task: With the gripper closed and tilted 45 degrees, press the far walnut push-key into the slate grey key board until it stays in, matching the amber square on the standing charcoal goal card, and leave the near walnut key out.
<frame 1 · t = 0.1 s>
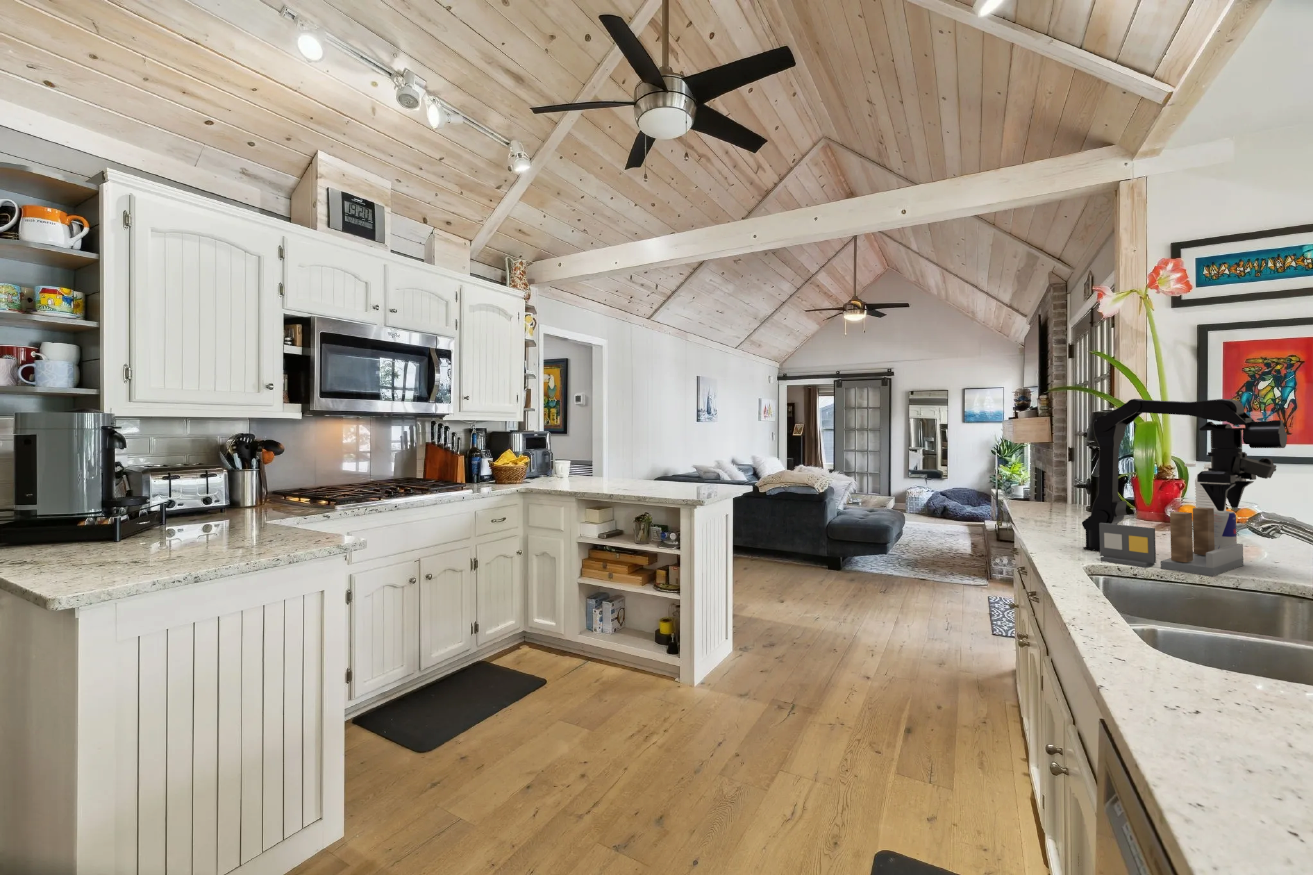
hand: (1227, 509, 147), 15 cm above the table, tool pointing down, fingers open, 9 cm apart
right key: (1181, 536, 146), point 8 cm above the table, slide at 0.0 cm
energy drink: (1223, 555, 161), on the table
left key: (1203, 531, 153), point 8 cm above the table, slide at 0.0 cm
water bottle: (1206, 548, 170), on the table
key board: (1204, 567, 147), on the table
goal card: (1127, 562, 154), on the table
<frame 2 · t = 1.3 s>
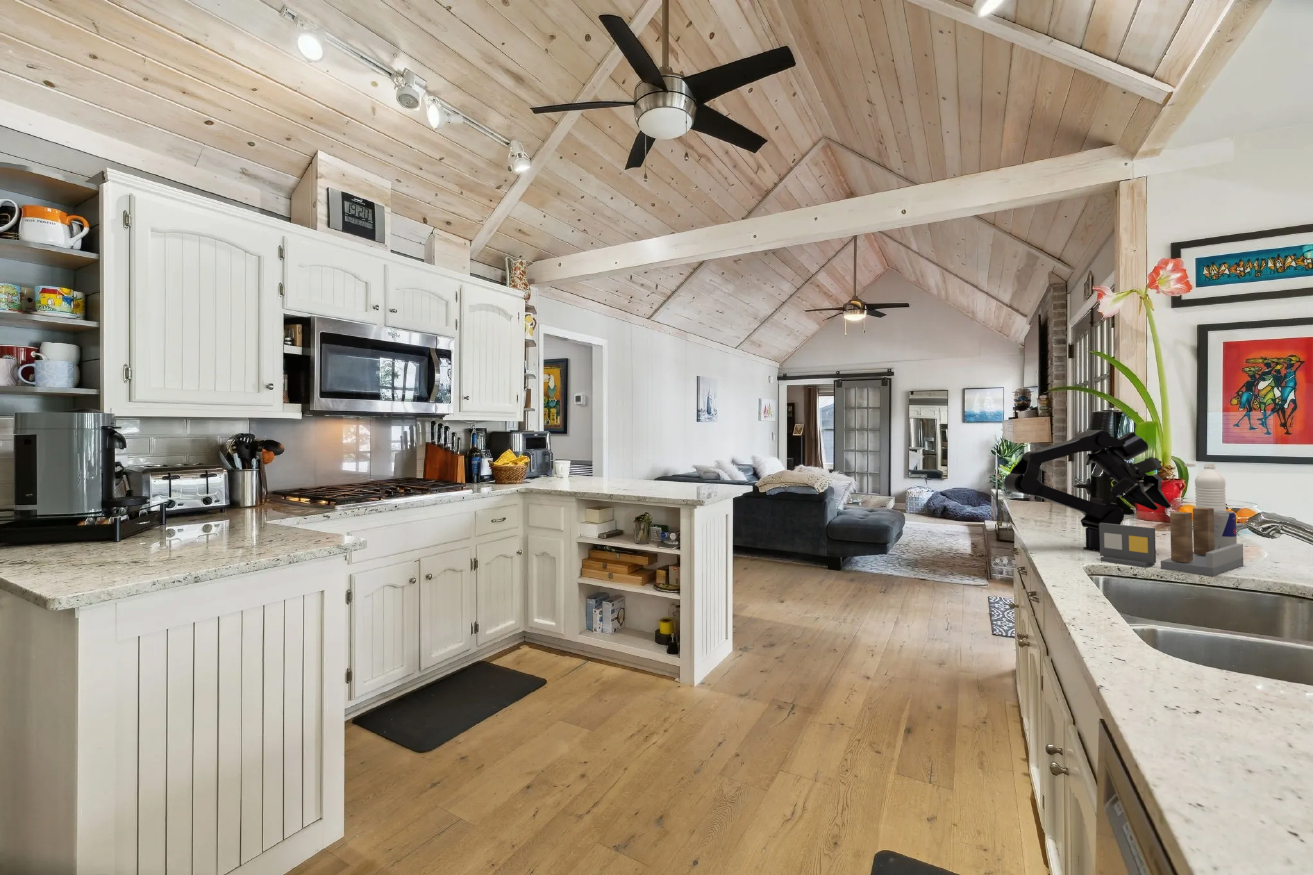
hand: (1163, 508, 160), 14 cm above the table, tool tilted 45°, fingers open, 8 cm apart
nothing on the table moved.
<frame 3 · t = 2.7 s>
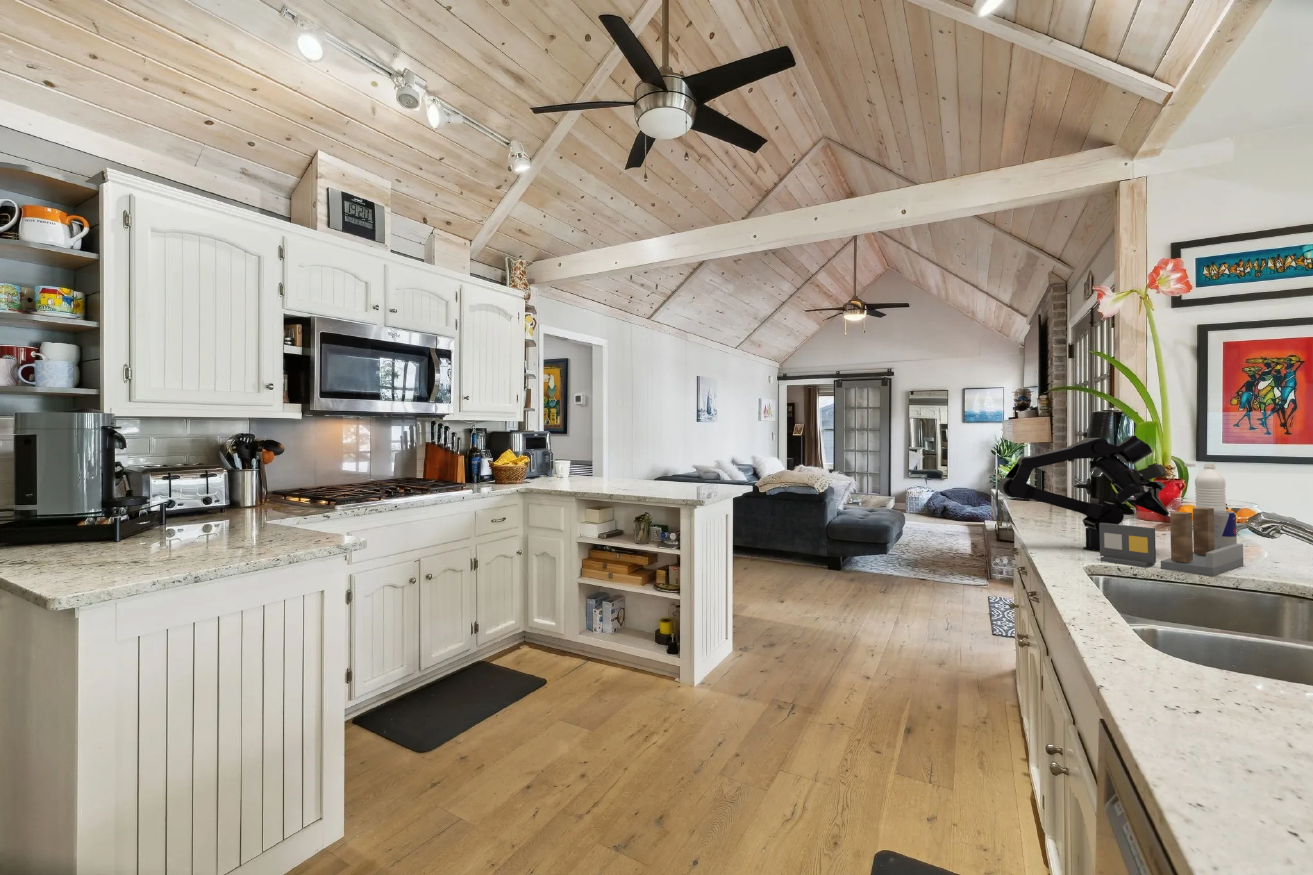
hand: (1167, 515, 160), 12 cm above the table, tool tilted 45°, fingers closed
nothing on the table moved.
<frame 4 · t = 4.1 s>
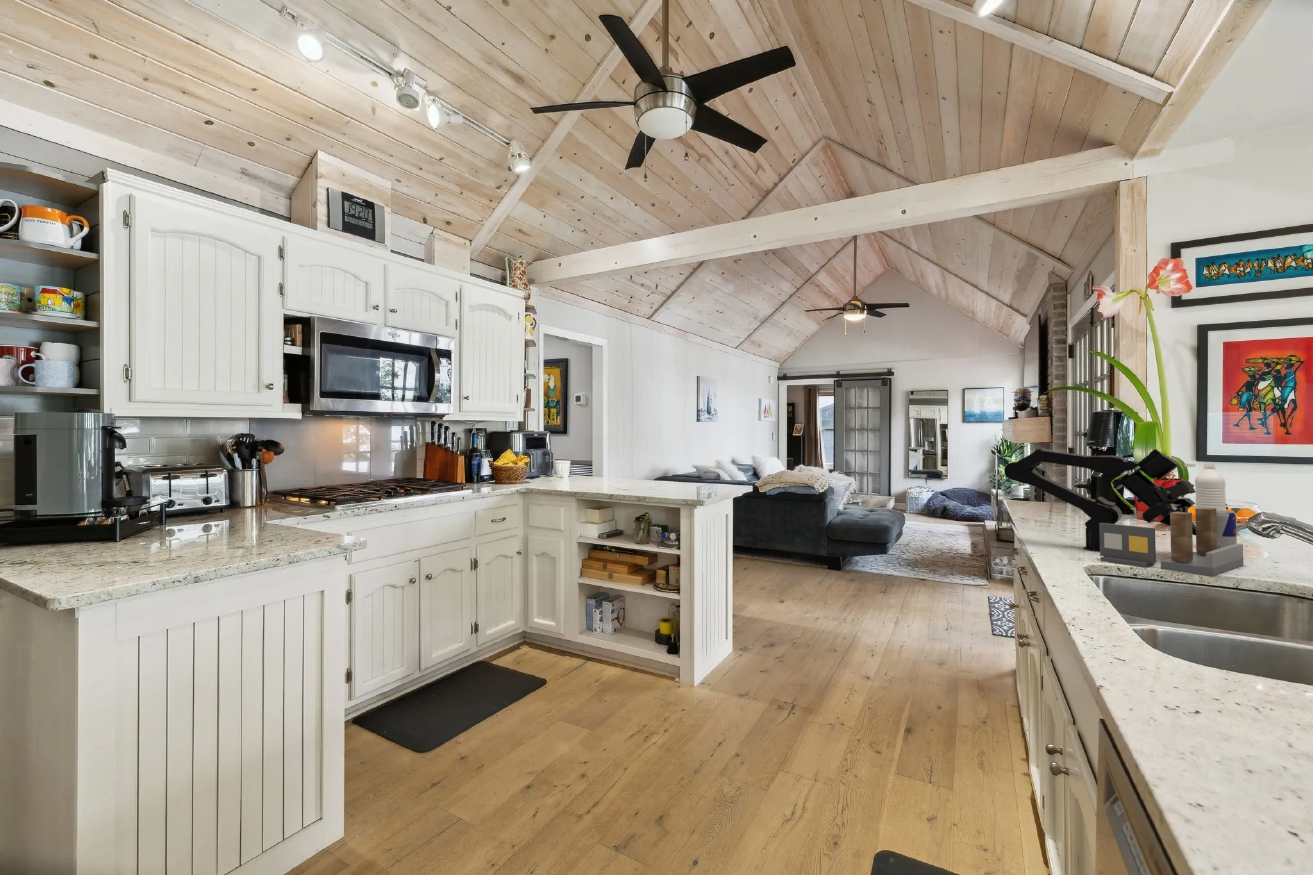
hand: (1197, 534, 154), 7 cm above the table, tool tilted 45°, fingers closed, pressing on left key
left key: (1206, 531, 152), point 8 cm above the table, slide at 0.6 cm, touching gripper
everything else where it was.
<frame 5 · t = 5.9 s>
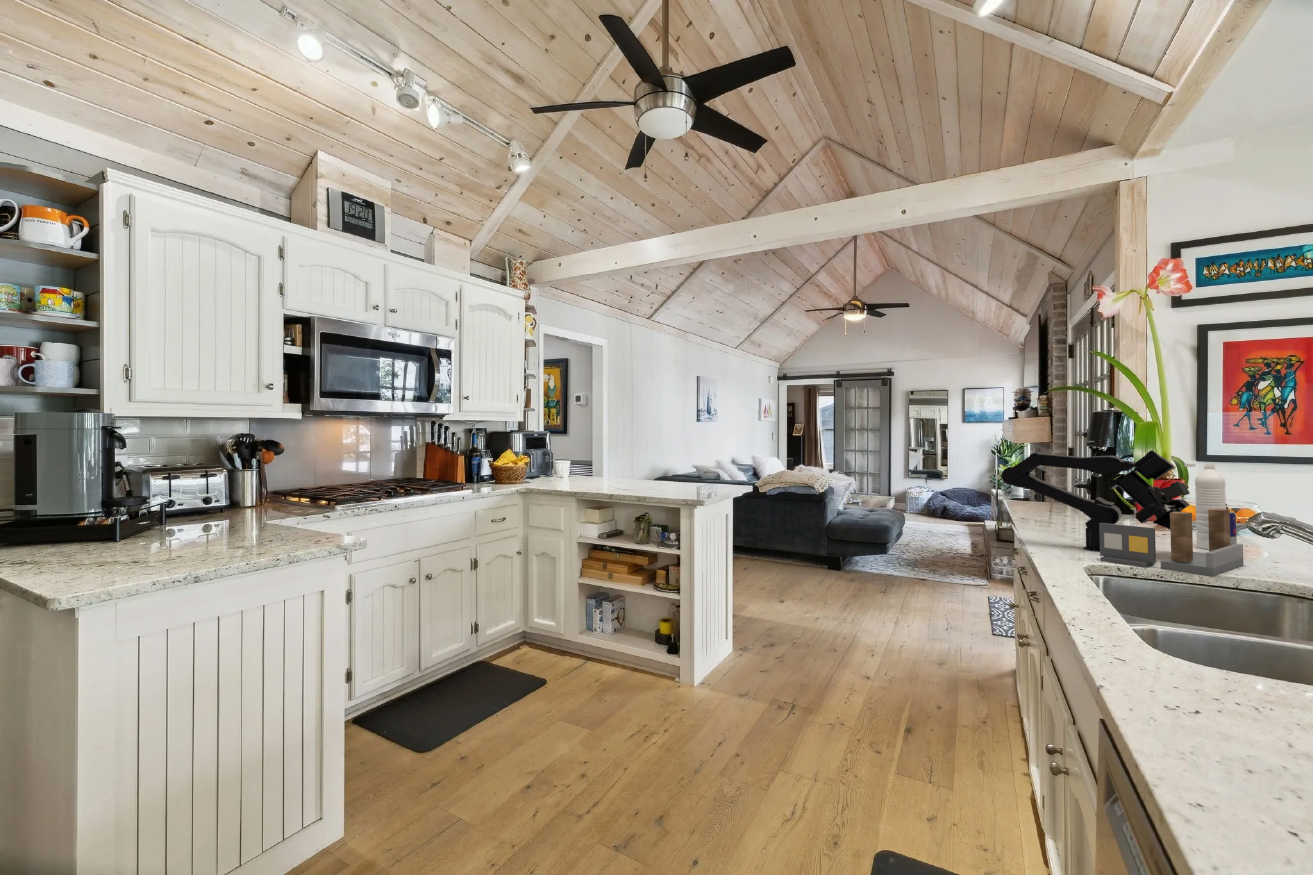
hand: (1190, 535, 155), 7 cm above the table, tool tilted 45°, fingers closed
left key: (1219, 532, 150), point 8 cm above the table, slide at 3.1 cm
everything else where it was.
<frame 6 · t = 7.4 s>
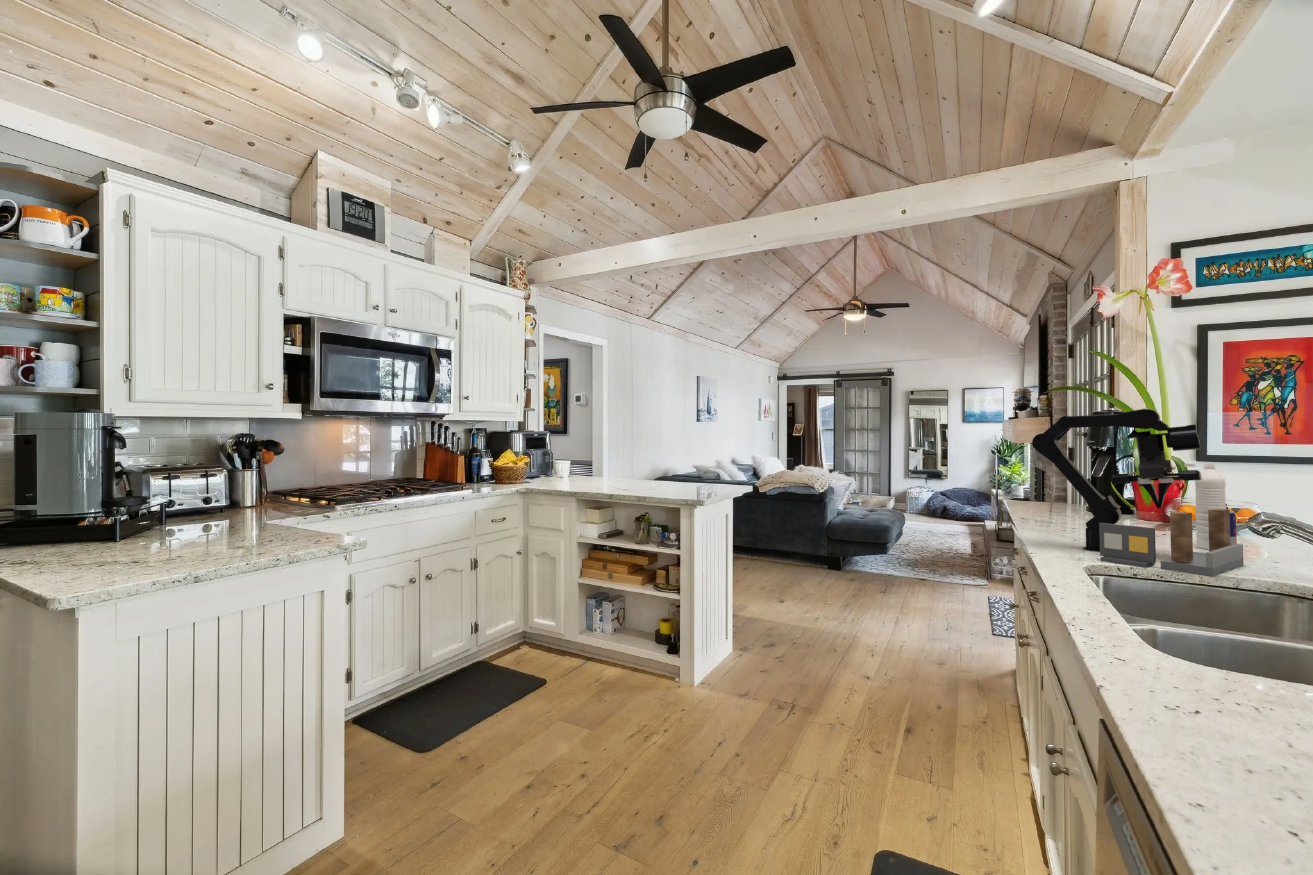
hand: (1159, 508, 161), 13 cm above the table, tool pointing down, fingers closed
nothing on the table moved.
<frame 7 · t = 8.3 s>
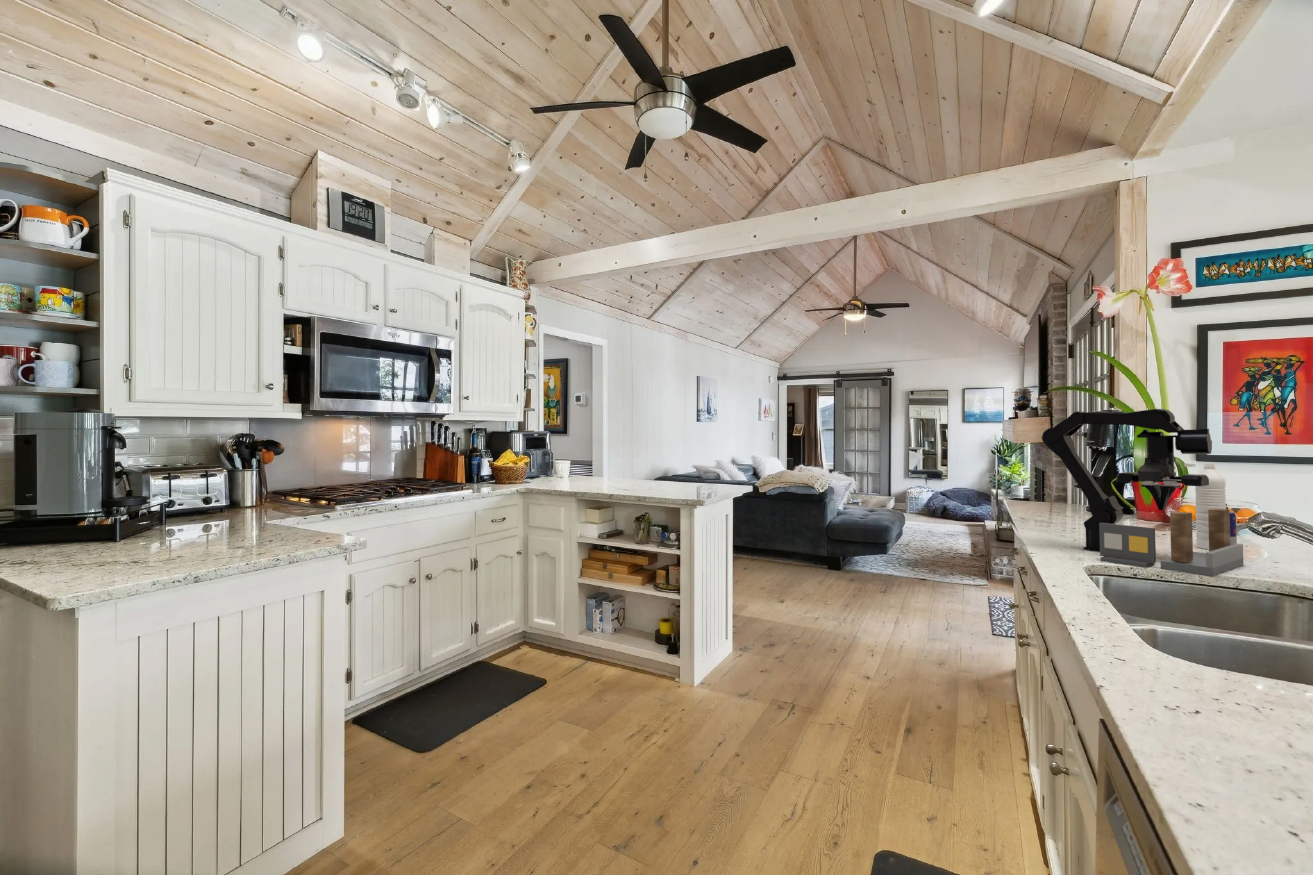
hand: (1161, 510, 160), 13 cm above the table, tool pointing down, fingers closed
nothing on the table moved.
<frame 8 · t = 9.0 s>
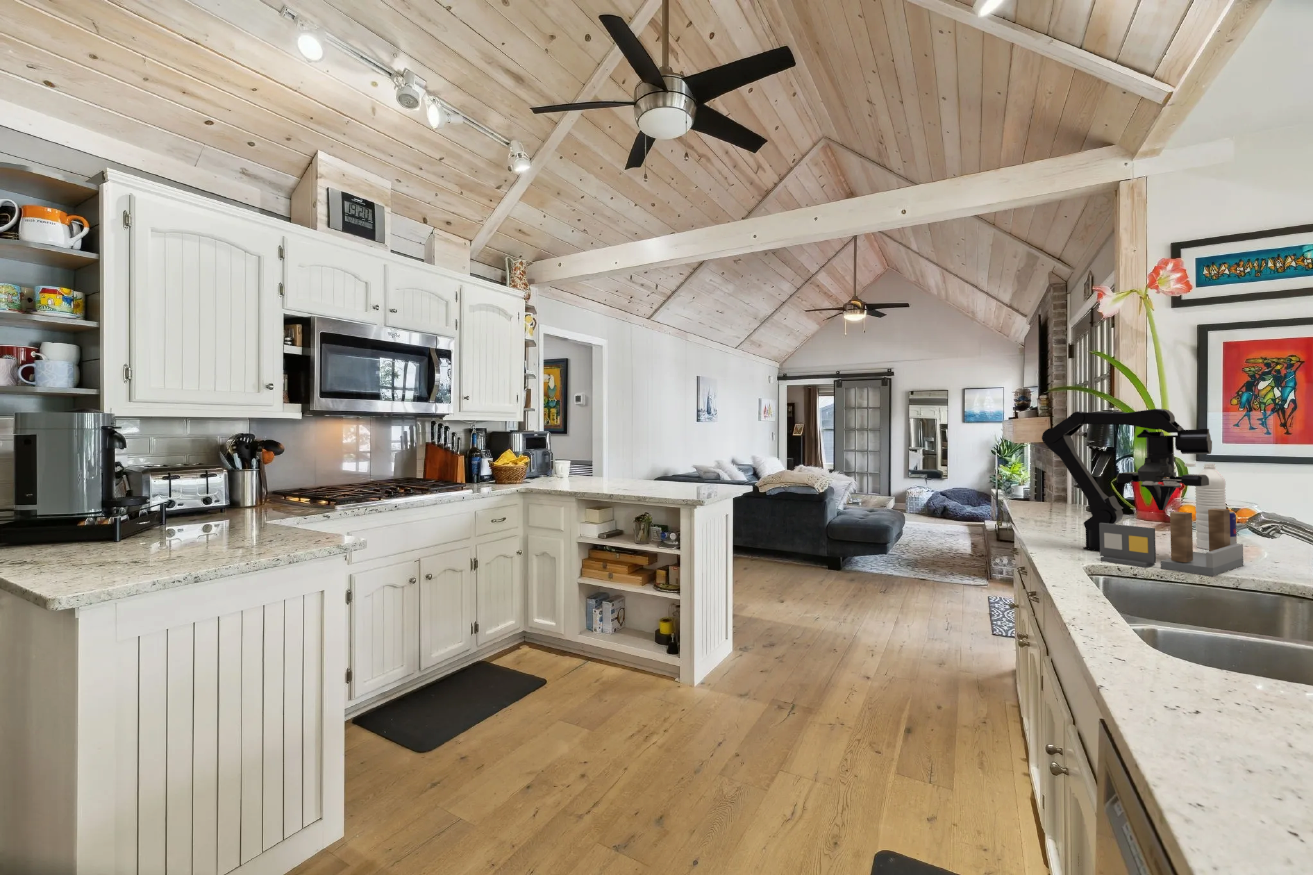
hand: (1161, 510, 160), 13 cm above the table, tool pointing down, fingers closed
nothing on the table moved.
at the end: left key slide at 3.1 cm; right key slide at 0.0 cm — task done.
